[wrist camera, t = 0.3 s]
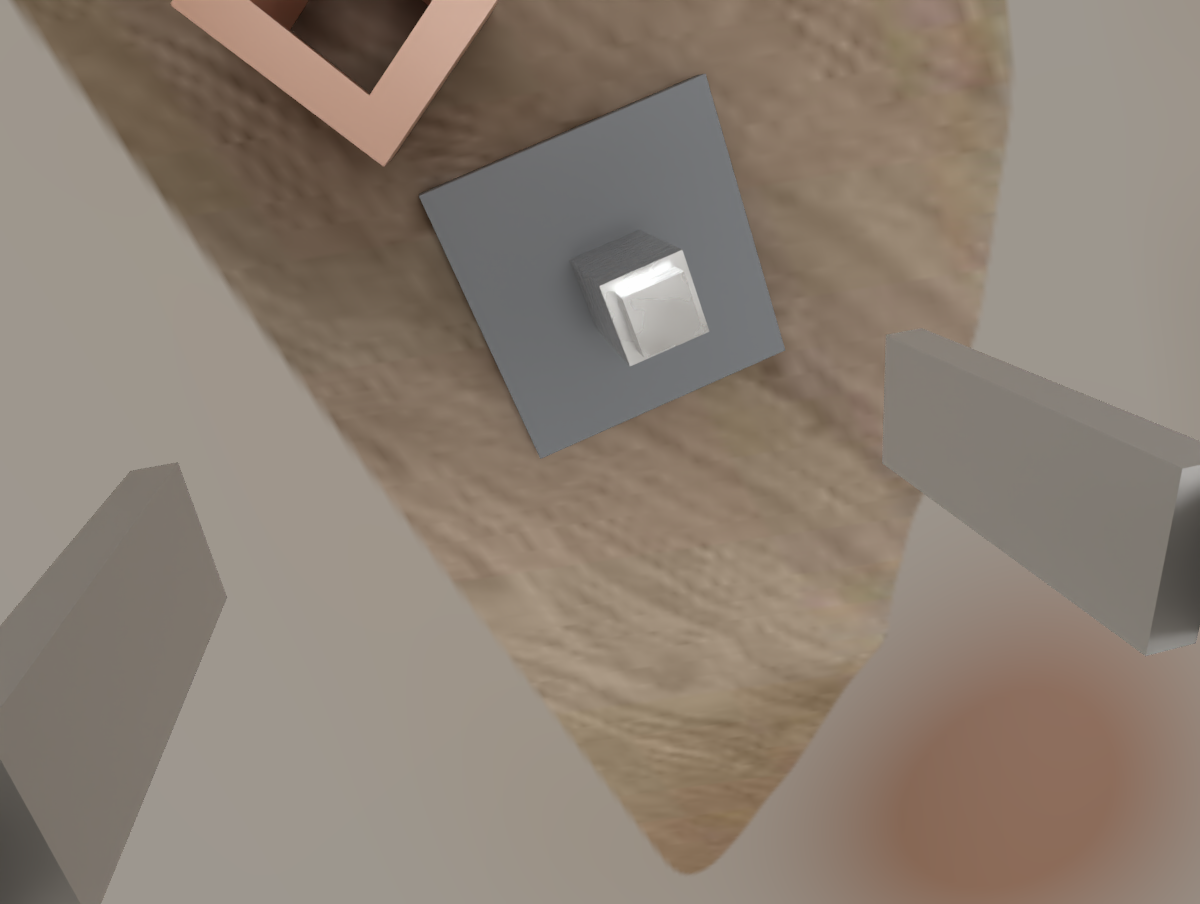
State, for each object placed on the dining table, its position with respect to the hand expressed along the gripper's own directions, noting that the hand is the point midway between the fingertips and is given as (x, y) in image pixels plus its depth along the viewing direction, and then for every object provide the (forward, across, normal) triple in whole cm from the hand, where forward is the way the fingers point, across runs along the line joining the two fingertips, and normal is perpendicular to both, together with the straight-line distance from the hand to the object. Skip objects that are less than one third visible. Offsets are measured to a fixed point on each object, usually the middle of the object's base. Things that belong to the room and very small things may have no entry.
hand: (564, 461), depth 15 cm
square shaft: (+24, +6, -2) cm, 25 cm away
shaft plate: (+26, +6, -2) cm, 26 cm away
